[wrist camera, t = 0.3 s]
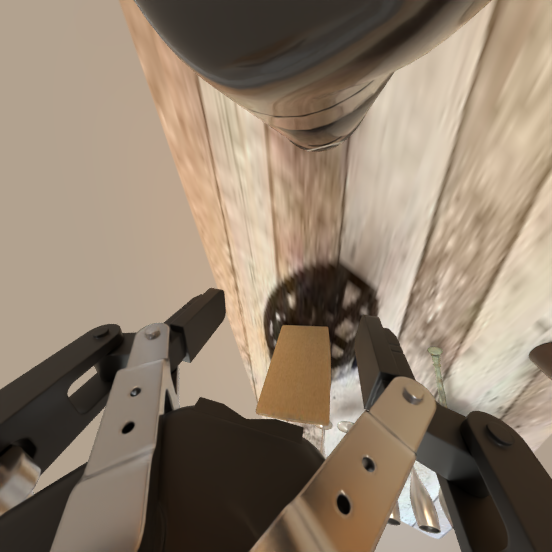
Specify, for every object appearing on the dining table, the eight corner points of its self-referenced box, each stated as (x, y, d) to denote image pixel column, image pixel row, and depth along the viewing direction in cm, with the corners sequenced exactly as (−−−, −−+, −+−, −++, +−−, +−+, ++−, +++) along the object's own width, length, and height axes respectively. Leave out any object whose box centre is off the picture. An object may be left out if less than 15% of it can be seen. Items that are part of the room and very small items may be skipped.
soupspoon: (421, 421, 40) (461, 421, 38) (429, 441, 37) (472, 442, 35) (408, 348, 31) (459, 341, 29) (418, 366, 28) (474, 361, 26)
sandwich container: (290, 379, 42) (274, 470, 30) (280, 324, 36) (253, 412, 23) (332, 384, 40) (333, 485, 27) (329, 326, 33) (329, 426, 20)
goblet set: (314, 429, 50) (310, 506, 38) (311, 416, 47) (305, 494, 36) (449, 448, 41) (495, 555, 30) (453, 433, 39) (505, 543, 27)
